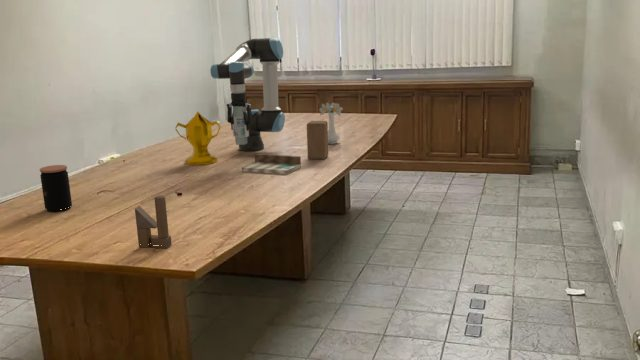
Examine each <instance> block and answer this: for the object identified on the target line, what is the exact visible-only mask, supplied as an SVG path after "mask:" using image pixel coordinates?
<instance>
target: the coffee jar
mask: <svg viewBox="0 0 640 360" xmlns="http://www.w3.org/2000/svg"><path fill="white" fill-rule="evenodd" d="M67 169H68V167H67V165H65V164H53V165H47V166H43V167H40V168H39V172H40V174H39V175H40V182H41V183H40V184H41V189H42V191H41V192H42V196H43V198H42V199H43V202H44V204H43V205H44V209H45V210H46V209H47V210H46V211H47V212H48V213H61V212H65V211H69V210H70V209H71V208H72V205H73V201H72V193H71V186H70V179H69V172H68V171H67ZM70 206H71V207H70ZM68 207H69V208H68ZM65 208H66V209H65ZM60 209H62V210H60Z"/></svg>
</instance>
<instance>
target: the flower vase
mask: <svg viewBox="0 0 640 360" xmlns="http://www.w3.org/2000/svg"><path fill="white" fill-rule="evenodd" d="M318 110H319V112H320V113H319V117H320V116H323V115H325V114H326V113H327V116H328V123H329V124H328V145H334V144H337V143H338V142H339V140H340V135H339V133H338V132H337V131H336V128H335V115H336V114H337V115H338V117H339V116H341V114H342V111H343V110H344V108H343V107H341V106H340V103H335V102H331V103H329V102H326V103H325V104H324V103H322V104H321V107H320V108H319V109H318Z"/></svg>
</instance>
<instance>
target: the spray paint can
mask: <svg viewBox="0 0 640 360" xmlns="http://www.w3.org/2000/svg"><path fill="white" fill-rule="evenodd" d="M245 109H246V106H244V107H243V106H241V107H239V106H232V114H233V117H234V130H235V136H234V140H235V145H237V146H239V145H245V144H247V137H245V127H244V125H245V124H246V123H245V121H244V116H243V112H245V111H247V109H246V110H245ZM242 110H243V112H242Z"/></svg>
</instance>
